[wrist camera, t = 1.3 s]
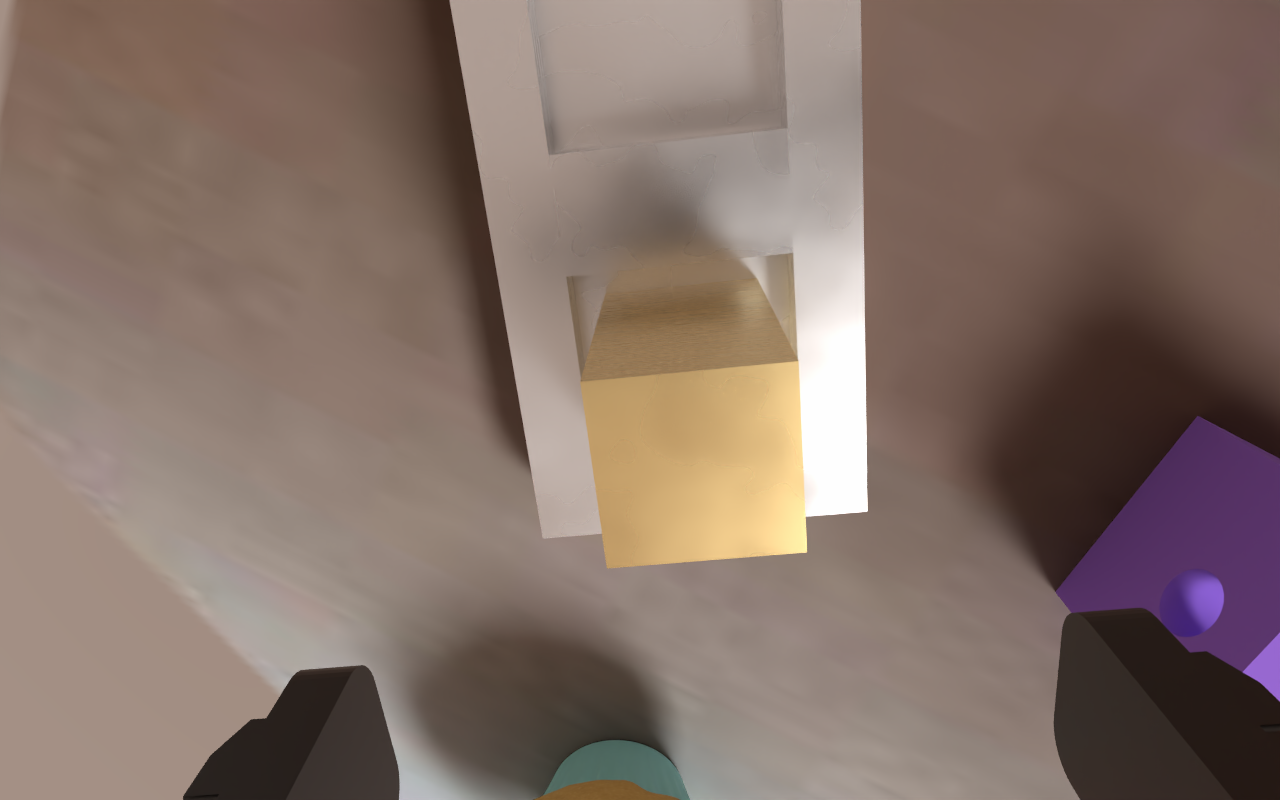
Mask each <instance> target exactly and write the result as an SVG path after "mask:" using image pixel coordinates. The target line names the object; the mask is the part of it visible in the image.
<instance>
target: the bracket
mask: <svg viewBox="0 0 1280 800" xmlns="http://www.w3.org/2000/svg"><path fill="white" fill-rule="evenodd" d="M1056 593H1057V595H1058V596H1059V597H1060V598H1061V600H1062V601H1063V602H1064V604H1065V605H1066V606H1067V607H1068V609H1069V610H1070V611H1071V612H1072V613H1075V612H1088V611H1101V610H1114V609H1127V608H1144V609H1147V610H1148V611H1150V612H1151V613H1152V614H1153V615H1155V616H1156V617H1157V618H1158V619H1159V620H1160V622H1161V623H1162V624H1163V625H1164V626H1165V627H1166V628H1167V629H1168V630H1169V631H1170V632H1171V633H1172V634H1173V635H1174V636H1175V637H1176V638H1177V639H1178V640H1179V642H1180V643H1181V644H1182V645H1183V646H1184V647H1185V648H1186V649H1187V650H1188V651H1189V652H1202V651H1207V652H1209V653H1211V654H1212V655H1214V656H1216V657H1218V658H1219V659H1221V660H1223V661H1224V662H1226V663H1228V664H1229V665H1231V666H1233V667H1235V668H1236V669H1238V670H1240V671H1241V672H1243V673H1245V674H1246V675H1248V676H1250V677H1252V678H1253V679H1255V680H1257V681H1258V682H1260V683H1261V684H1262V685H1263V686H1264V687H1265V688H1266V689H1267V690H1268V691H1269V692H1270V693H1272V694H1273V695H1274V696H1275V697H1276V698H1277V699H1278V700H1279V701H1280V458H1278V457H1276V456H1274V455H1272V454H1270V453H1268V452H1266V451H1264V450H1262V449H1260V448H1259V447H1257V446H1255V445H1253V444H1251V443H1249V442H1247V441H1245V440H1243V439H1241V438H1239V437H1237V436H1236V435H1234V434H1232V433H1230V432H1228V431H1226V430H1224V429H1222V428H1220V427H1218V426H1216V425H1215V424H1213V423H1211V422H1209V421H1207V420H1205V419H1203V418H1201V417H1199V416H1197V417H1196V418H1195V420H1194V421H1193V422H1192V423H1191V425H1190V426H1189V427H1188V428H1187V429H1186V431H1185V432H1184V433H1183V434H1182V436H1181V437H1180V438H1179V439H1178V441H1177V442H1176V443H1175V444H1174V446H1173V447H1172V448H1171V449H1170V451H1169V452H1168V453H1167V454H1166V455H1165V457H1164V458H1163V459H1162V460H1161V462H1160V463H1159V464H1158V465H1157V467H1156V468H1155V469H1154V470H1153V472H1152V473H1151V474H1150V475H1149V477H1148V478H1147V479H1146V480H1145V481H1144V483H1143V484H1142V485H1141V486H1140V488H1139V489H1138V490H1137V491H1136V493H1135V494H1134V495H1133V496H1132V498H1131V499H1130V500H1129V501H1128V503H1127V504H1126V505H1125V506H1124V507H1123V509H1122V510H1121V511H1120V512H1119V514H1118V515H1117V516H1116V517H1115V519H1114V520H1113V521H1112V522H1111V524H1110V525H1109V526H1108V527H1107V529H1106V530H1105V531H1104V532H1103V533H1102V535H1101V536H1100V537H1099V538H1098V540H1097V541H1096V542H1095V543H1094V545H1093V546H1092V547H1091V548H1090V550H1089V551H1088V552H1087V553H1086V555H1085V556H1084V557H1083V558H1082V559H1081V561H1080V562H1079V563H1078V564H1077V566H1076V567H1075V568H1074V569H1073V571H1072V572H1071V573H1070V574H1069V576H1068V577H1067V578H1066V579H1065V580H1064V582H1063V583H1062V584H1061V585H1060V587H1059V588H1058V589H1057V590H1056Z"/></svg>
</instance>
